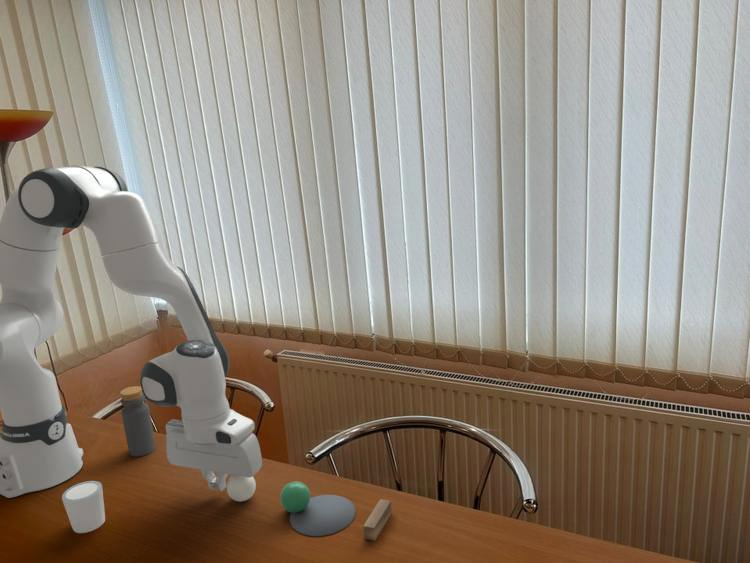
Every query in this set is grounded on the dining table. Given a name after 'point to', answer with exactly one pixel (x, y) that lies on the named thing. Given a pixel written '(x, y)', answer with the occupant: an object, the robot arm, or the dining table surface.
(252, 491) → the cue ball
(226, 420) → the robot arm
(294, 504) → the green ball
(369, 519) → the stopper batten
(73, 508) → the shot glass
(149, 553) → the dining table surface
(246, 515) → the dining table surface
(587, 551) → the dining table surface
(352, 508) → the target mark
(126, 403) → the bottle
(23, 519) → the dining table surface
